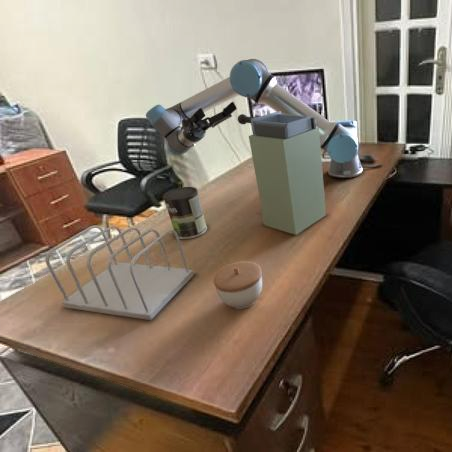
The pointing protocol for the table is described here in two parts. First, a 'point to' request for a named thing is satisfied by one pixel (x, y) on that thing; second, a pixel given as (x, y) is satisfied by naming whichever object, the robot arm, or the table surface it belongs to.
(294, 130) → the grey drawer
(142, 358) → the table surface
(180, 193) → the coffee can
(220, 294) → the trinket box
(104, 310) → the file sorter
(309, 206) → the stand
